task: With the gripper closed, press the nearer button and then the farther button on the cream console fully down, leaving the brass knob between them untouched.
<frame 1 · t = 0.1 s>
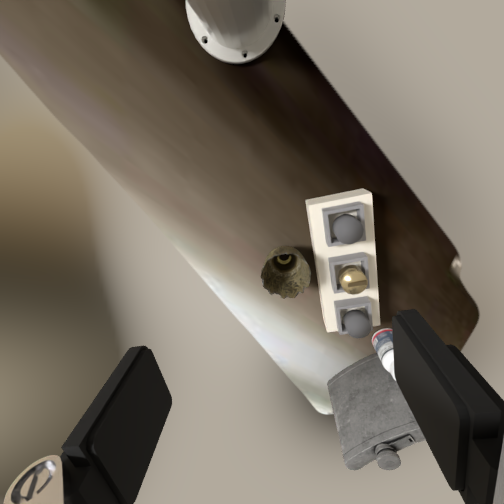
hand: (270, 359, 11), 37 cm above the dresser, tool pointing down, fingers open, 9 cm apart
button 1: (356, 323, 44), point 7 cm above the dresser, slide at 0.0 cm
flask: (355, 368, 57), on the dresser
olive hollow bell-shaped piece: (284, 255, 49), on the dresser
pill bottle: (385, 337, 54), on the dresser
brass knob: (352, 279, 41), point 7 cm above the dresser, slide at 0.0 cm
button 2: (347, 228, 39), point 7 cm above the dresser, slide at 0.0 cm
console: (341, 259, 48), on the dresser
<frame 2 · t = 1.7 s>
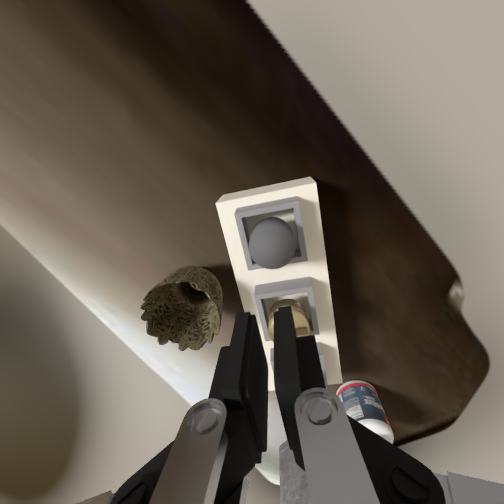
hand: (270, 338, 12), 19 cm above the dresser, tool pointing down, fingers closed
flask: (317, 430, 41), on the dresser
olive hollow bell-shaped piece: (201, 277, 33), on the dresser
pill bottle: (355, 392, 38), on the dresser
brass knob: (288, 323, 26), point 7 cm above the dresser, slide at 0.0 cm
button 2: (271, 242, 23), point 7 cm above the dresser, slide at 0.0 cm
console: (285, 285, 32), on the dresser
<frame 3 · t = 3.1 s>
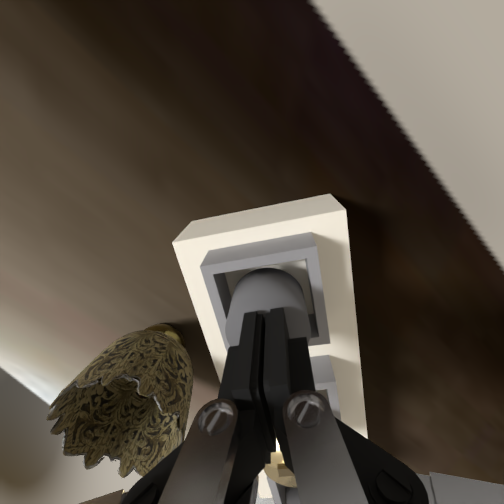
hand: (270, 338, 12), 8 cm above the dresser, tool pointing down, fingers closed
olive hollow bell-shaped piece: (166, 337, 23), on the dresser
brass knob: (295, 442, 15), point 7 cm above the dresser, slide at 0.0 cm
button 2: (267, 314, 13), point 7 cm above the dresser, slide at 0.6 cm, touching gripper
console: (288, 348, 22), on the dresser
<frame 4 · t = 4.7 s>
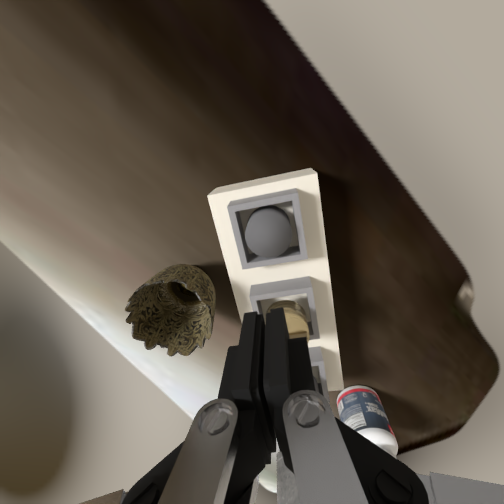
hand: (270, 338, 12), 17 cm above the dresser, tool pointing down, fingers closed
button 1: (300, 395, 26), point 7 cm above the dresser, slide at 0.0 cm
flask: (316, 437, 39), on the dresser
olive hollow bell-shaped piece: (193, 277, 31), on the dresser
pill bottle: (356, 397, 36), on the dresser
brass knob: (286, 327, 23), point 7 cm above the dresser, slide at 0.0 cm
button 2: (268, 230, 22), point 5 cm above the dresser, slide at 1.9 cm, touching console
console: (283, 284, 30), on the dresser
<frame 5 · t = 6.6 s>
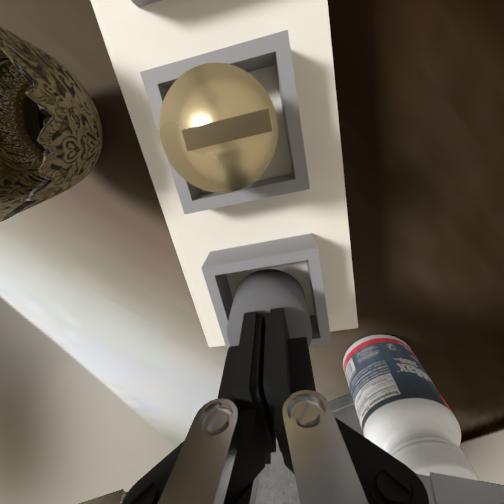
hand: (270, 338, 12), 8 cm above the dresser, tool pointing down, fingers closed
button 1: (269, 316, 13), point 7 cm above the dresser, slide at 0.6 cm, touching gripper
flask: (310, 424, 25), on the dresser
olive hollow bell-shaped piece: (82, 126, 17), on the dresser
pill bottle: (375, 357, 22), on the dresser
brass knob: (224, 133, 10), point 7 cm above the dresser, slide at 0.0 cm
console: (244, 134, 16), on the dresser
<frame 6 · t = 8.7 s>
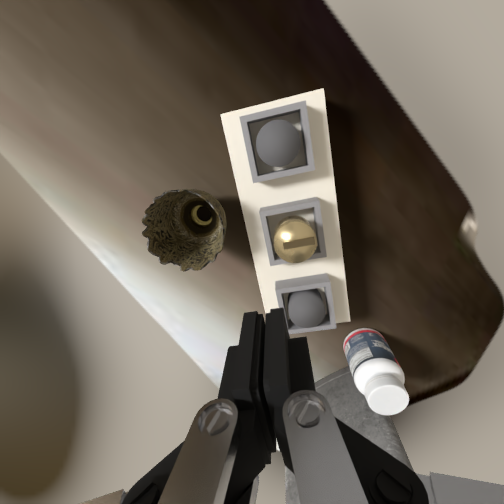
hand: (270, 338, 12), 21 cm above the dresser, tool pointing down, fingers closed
button 1: (305, 305, 29), point 5 cm above the dresser, slide at 1.9 cm
flask: (323, 388, 40), on the dresser
olive hollow bell-shaped piece: (204, 213, 32), on the dresser
pill bottle: (363, 342, 36), on the dresser
brass knob: (294, 239, 25), point 7 cm above the dresser, slide at 0.0 cm
button 2: (277, 144, 24), point 5 cm above the dresser, slide at 1.9 cm, touching console
console: (290, 219, 31), on the dresser
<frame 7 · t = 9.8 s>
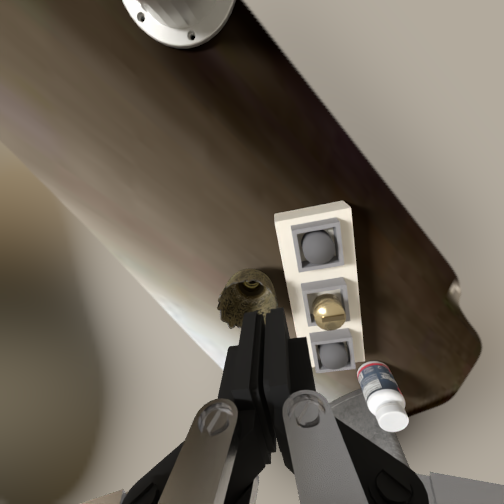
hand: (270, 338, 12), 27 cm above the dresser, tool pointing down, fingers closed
button 1: (332, 352, 39), point 5 cm above the dresser, slide at 1.9 cm
flask: (339, 404, 50), on the dresser
olive hollow bell-shaped piece: (252, 277, 41), on the dresser
pill bottle: (372, 371, 46), on the dresser
brass knob: (328, 312, 34), point 7 cm above the dresser, slide at 0.0 cm
button 2: (317, 246, 33), point 5 cm above the dresser, slide at 1.9 cm, touching console
console: (319, 283, 41), on the dresser
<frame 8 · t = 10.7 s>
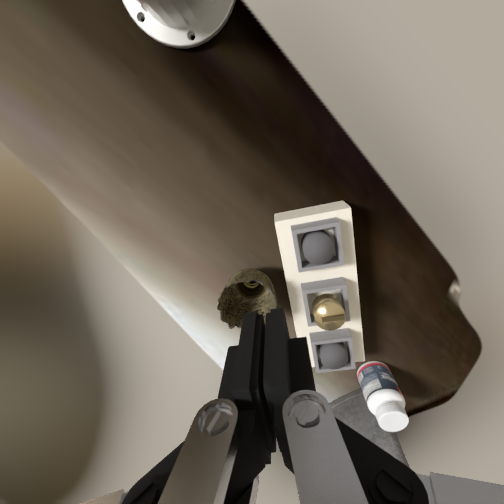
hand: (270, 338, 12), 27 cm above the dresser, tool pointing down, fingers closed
button 1: (332, 352, 39), point 5 cm above the dresser, slide at 1.9 cm
flask: (339, 404, 50), on the dresser
olive hollow bell-shaped piece: (252, 277, 42), on the dresser
pill bottle: (372, 371, 46), on the dresser
brass knob: (328, 312, 34), point 7 cm above the dresser, slide at 0.0 cm
button 2: (317, 246, 33), point 5 cm above the dresser, slide at 1.9 cm, touching console
console: (319, 283, 41), on the dresser
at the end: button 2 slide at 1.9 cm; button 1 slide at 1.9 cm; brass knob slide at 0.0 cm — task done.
